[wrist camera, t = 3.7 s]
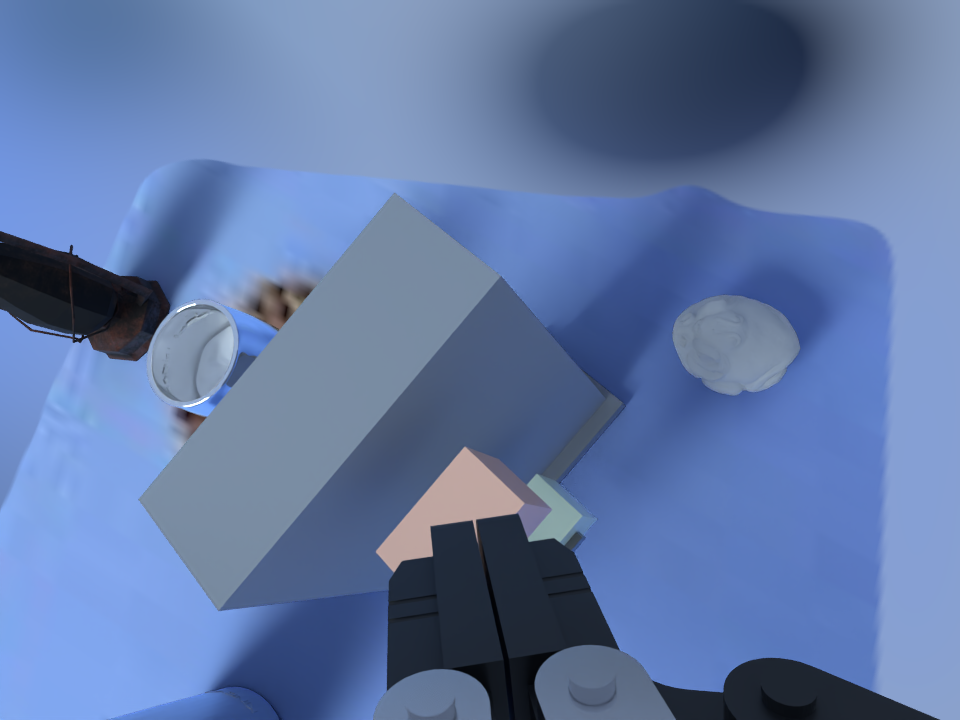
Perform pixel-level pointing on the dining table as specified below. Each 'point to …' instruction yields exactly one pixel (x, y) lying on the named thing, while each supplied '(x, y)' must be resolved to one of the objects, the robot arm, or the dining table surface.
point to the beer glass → (203, 353)
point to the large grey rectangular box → (369, 418)
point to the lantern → (79, 298)
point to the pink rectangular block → (463, 505)
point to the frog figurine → (735, 343)
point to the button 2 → (560, 514)
